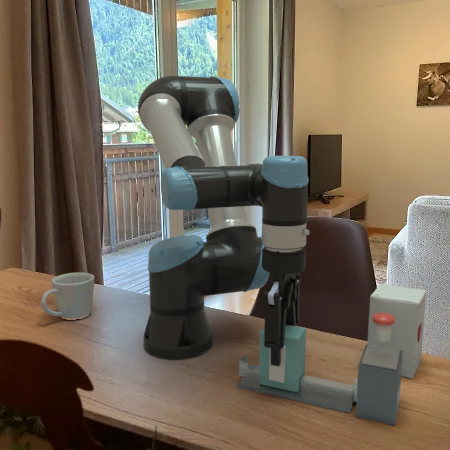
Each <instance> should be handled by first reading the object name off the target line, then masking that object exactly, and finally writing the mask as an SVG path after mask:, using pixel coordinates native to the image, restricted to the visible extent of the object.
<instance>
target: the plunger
mask: <svg viewBox="0 0 450 450" xmlns="http://www.w3.org/2000/svg"><path fill="white" fill-rule="evenodd" d="M372 321H373V322H374V323H375V339H376V340H378V341H381V342H388V341H390V335H391V325H392V324H394V323H395V317H394V316H393V315H391V314H388V313H382V312H379V313H374V314H373V316H372Z"/></svg>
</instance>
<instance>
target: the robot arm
mask: <svg viewBox="0 0 450 450" xmlns="http://www.w3.org/2000/svg"><path fill="white" fill-rule="evenodd" d="M240 103H241V102H240V96H239V93H238V91H237V88H236V86H235V84H234V83H233V82H232V80H231V79H227V78H225V77H217V76H214V75H213V76H209V77H207V76H206V77H205V76H189V75H188V76H185V75H166V76H162V77H160V78H157V79H155V80H154V81H152V82H151V83H150V84H148V85H147V86H146V87H145V88H144V90H143V91H142V92H141V94H140V97H139V99H138V104H137V111H138V112H137V113H138V117H139V119H140V122H141V124H142V126H143V127H144V128H145V129H146V130H148V131H149V133H150V135H151V138H152V140H153V142H154V145H155V147H156V149H157V152H158V155H159V157H160V160H161V162H162V164H163V167H164V169H163V170H162V172H161V173H162V174H161V177H160V192H161V197H162V203H163V205H164V206H165V208H167V210H170V211H179V210H180V211H181V210H182V211H185V212H186V211H187V212H188V211H192V210H206V209H207V212H208V219H209V224H210V230H209V231H208V232H207V233H206V236H205V240H206V241H204V239H203V238H202V236H199V235H193V234H191V235H179V236H178V235H177V236H172V237H169V238H165V239H162V240H160V241H158V242H157V241H156V243H154V244H153V245H152V246H151V247H150V248H149V251H148V260H147V261H148V264H147V271H148V283H149V285H148V286H149V307H150V308H149V310H150V312H149V316H148V319H147V322H146V324H145V325H146V327H145V330H144V333H143V349H144V351H145V352H146V353H148V354H149V355H151V356H153V357H156V358H159V359H167V360H183V359H188V358H189V359H190V358H193V357H194V358H195V357H197V356H200V355H202V354H204V353H206V352H207V351H209V350H210V349H211V348H212V347H213V344H214V338H213V337H214V335H213V329H212V327H211V325H210V321H209V319H208V315H207V313H206V310H205V297H207V296H216V295H217V296H218V295H223V294H233V293H239V292H240V293H241V292H243V293H247V292H248V291H252V290H253V291H254V290H259V289H262V288H263V287H265V285H266V284H267V283H268V280H269V278H270V280H269V283H268V291H264V292H263V301H264V327H265V331H264V346H265V347H268V348H269V380H273V381H277V382H282V383H284V382H285V360H286V346H284V335H285V325H291V326H298V325H299V324H300V299H301V298H300V295H301V294H300V291H301V290H300V289H301V280H302V279H301V278H302V274H301V273H302V272H304V271H305V270H306V265H307V250H306V248H304V247H306V245H307V236H310V230H309V229H307V218H308V195H309V193H308V191H309V175H308V160H307V159H306V158H305V157H304V156H303V155H302V156H301V155H269V156H265V157H264V159H263V160H262V163H248V164H246V165H237V161H236V156H235V150H234V146H233V141H232V140H233V139H232V134H231V133H232V131H233V130H234V128H235V125H236V123H237V122H238V120H239V117H240ZM194 139H195V141H194ZM252 206H256V207H261V210H262V211H261V212H262V213H261V214H262V216H261V217H262V218H261V236H258V232H257V228H256V226H255V225H253V223H250V222H249V221H248V216H247V210H246V207H252ZM270 275H271V277H270Z"/></svg>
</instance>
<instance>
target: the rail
mask: <svg viewBox="0 0 450 450" xmlns="http://www.w3.org/2000/svg"><path fill="white" fill-rule="evenodd" d="M238 377H240V378H241V379H240V380H239V381H238V382H237V388H238V389H243V390H245V391H251V392H255V393H261V394H263V395H269V396H273V397H276V398H282V399H286V400H290V401H295V402H299V403H302V404H303V403H304V404H307V405H312V406H317V407H321V408H325V409H329V410H334V411H338V412H343V413H347V414H351V412H352V410H353V406H354V404H355V403H357V385H358V377H354V378H353V381H352V384H349V383H345V382H340V381H335V380H330V379H325V378H320V377H317V376H316V377H315V376H312V375H311V376H310V375H301V377H300V379H299V391H298V392H293V391H288V390H284V389H279V388H275V387H270V386H266V385H261V384H260V374H259V364H258V365H256V364H252V363H249V356H247V355H242V356H241V357H239V359H238Z"/></svg>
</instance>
